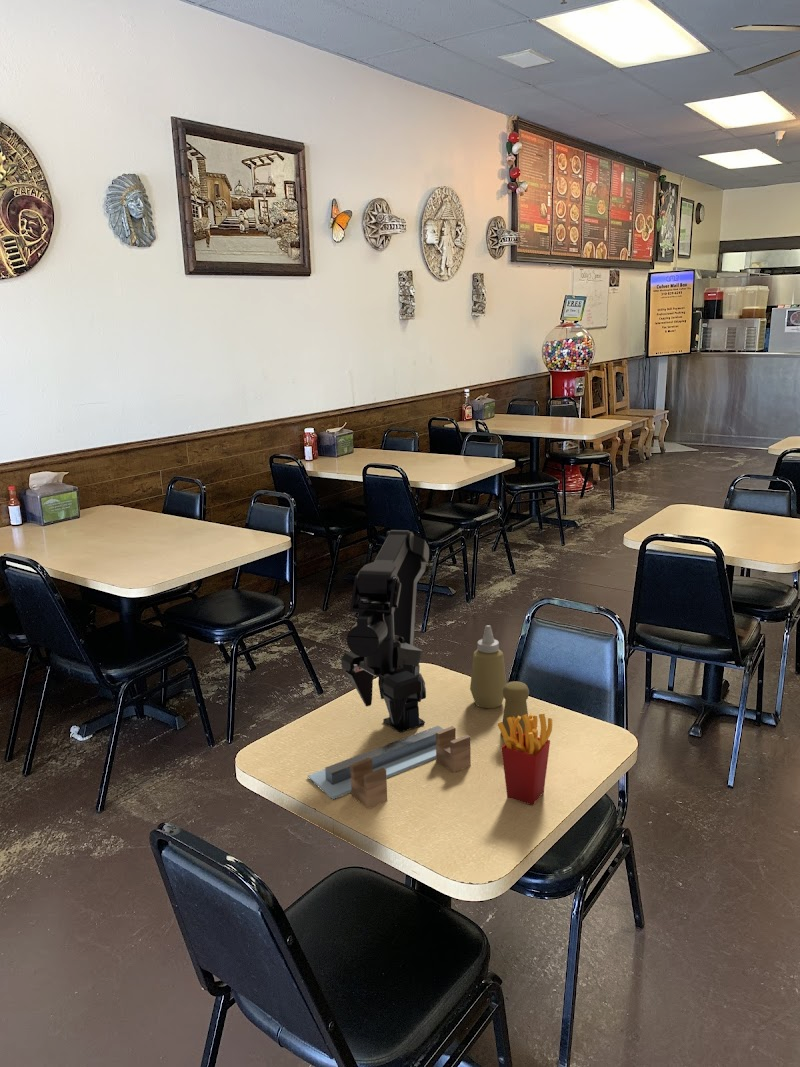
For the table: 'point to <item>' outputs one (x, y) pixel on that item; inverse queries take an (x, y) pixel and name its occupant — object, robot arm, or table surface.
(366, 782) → the stand near
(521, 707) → the pepper mill
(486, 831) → the table surface
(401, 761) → the mat
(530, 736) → the french fries
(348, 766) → the rail
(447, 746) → the stand far
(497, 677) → the squeeze bottle
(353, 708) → the table surface
